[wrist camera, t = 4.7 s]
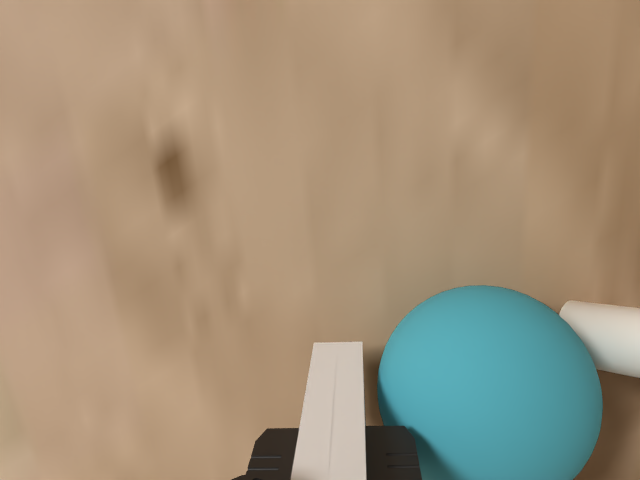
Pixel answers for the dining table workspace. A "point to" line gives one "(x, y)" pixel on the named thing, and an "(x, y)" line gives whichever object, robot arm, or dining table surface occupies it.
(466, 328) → the teal ball
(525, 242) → the dining table surface
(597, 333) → the pin
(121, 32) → the dining table surface
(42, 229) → the dining table surface
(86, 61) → the dining table surface
